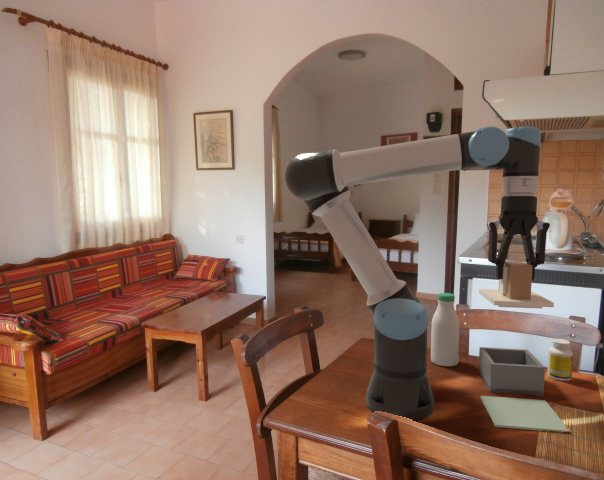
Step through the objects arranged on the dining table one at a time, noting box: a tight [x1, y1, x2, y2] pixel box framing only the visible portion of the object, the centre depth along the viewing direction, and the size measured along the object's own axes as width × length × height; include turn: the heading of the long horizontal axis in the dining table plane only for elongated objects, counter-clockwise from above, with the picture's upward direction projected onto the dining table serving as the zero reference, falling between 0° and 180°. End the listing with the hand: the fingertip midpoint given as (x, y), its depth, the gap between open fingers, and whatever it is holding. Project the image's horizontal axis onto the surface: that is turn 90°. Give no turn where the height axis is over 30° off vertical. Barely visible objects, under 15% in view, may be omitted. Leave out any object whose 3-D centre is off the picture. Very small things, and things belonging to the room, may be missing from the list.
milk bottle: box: [430, 292, 461, 368], centre depth 120 cm, size 8×8×20 cm
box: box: [478, 346, 546, 397], centre depth 106 cm, size 12×12×7 cm
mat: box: [480, 395, 571, 432], centre depth 91 cm, size 14×13×1 cm
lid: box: [478, 259, 555, 310], centre depth 100 cm, size 13×13×10 cm
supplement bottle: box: [547, 338, 574, 382], centre depth 110 cm, size 5×5×10 cm
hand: (514, 292), depth 100 cm, fingers closed on lid, 4 cm apart
